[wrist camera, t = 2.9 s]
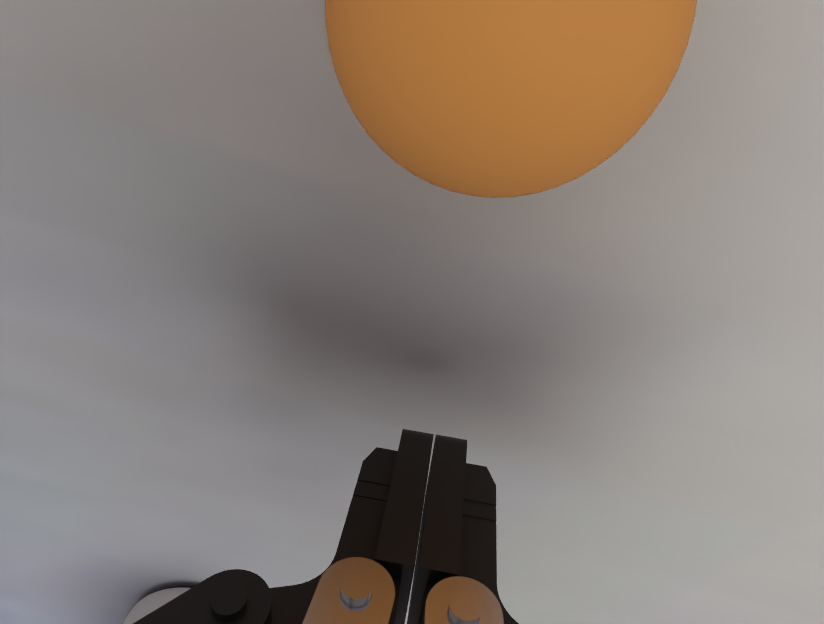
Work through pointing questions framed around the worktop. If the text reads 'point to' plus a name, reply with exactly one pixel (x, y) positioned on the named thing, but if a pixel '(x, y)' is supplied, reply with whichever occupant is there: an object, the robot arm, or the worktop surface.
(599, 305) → the worktop surface
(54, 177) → the worktop surface
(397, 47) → the ball
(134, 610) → the bath foam
